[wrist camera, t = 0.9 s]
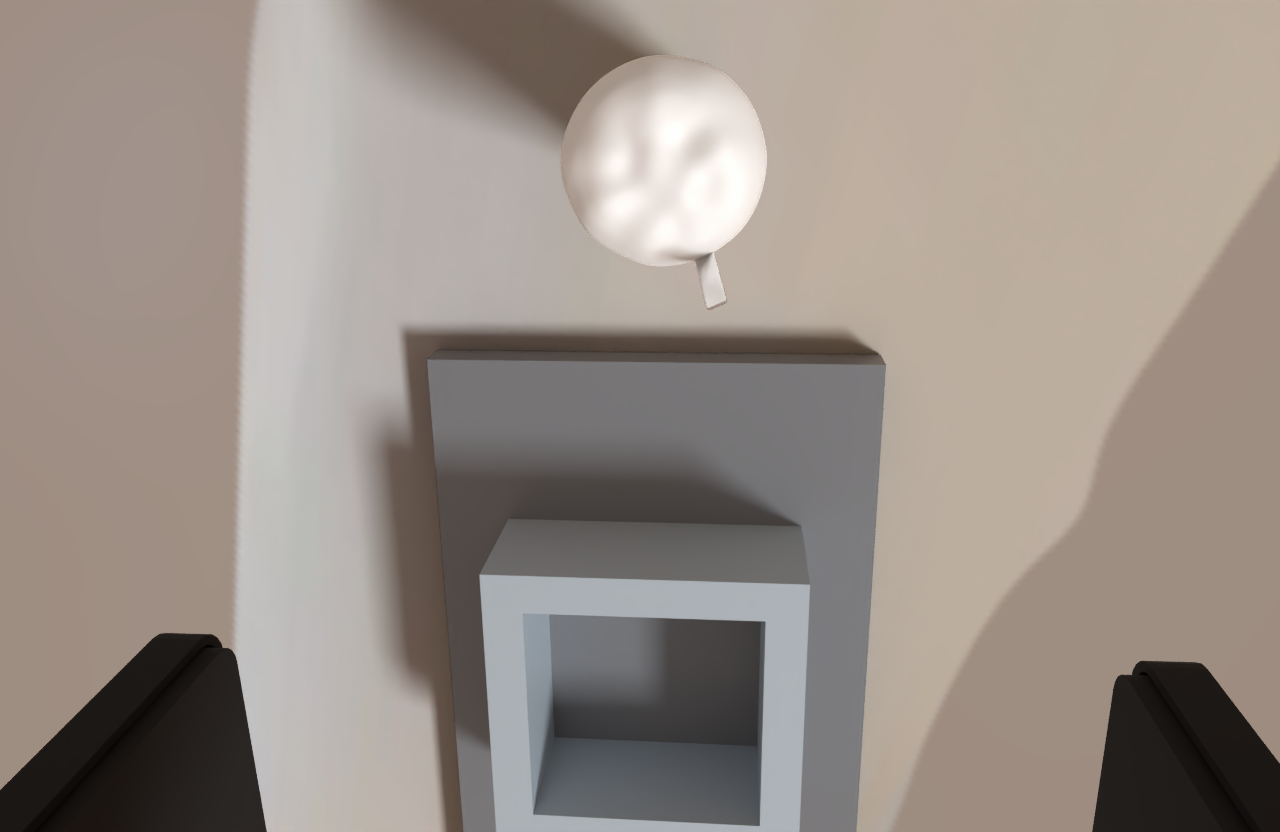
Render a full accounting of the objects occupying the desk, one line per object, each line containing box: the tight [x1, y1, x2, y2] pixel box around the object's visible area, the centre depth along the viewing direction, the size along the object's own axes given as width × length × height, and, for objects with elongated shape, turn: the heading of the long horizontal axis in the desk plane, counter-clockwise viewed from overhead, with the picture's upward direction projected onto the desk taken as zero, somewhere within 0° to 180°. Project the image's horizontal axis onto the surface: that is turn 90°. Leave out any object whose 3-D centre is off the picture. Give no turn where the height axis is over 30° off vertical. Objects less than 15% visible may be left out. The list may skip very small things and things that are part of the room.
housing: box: [427, 350, 886, 832], centre depth 33 cm, size 20×14×5 cm
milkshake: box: [561, 55, 767, 310], centre depth 26 cm, size 5×5×10 cm
